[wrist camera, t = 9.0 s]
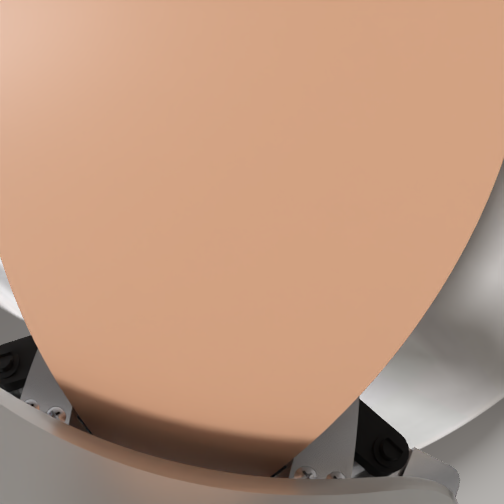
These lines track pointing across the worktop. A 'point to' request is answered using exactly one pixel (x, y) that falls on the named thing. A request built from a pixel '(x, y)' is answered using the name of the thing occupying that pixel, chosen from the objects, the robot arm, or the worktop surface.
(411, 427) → the worktop surface
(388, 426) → the robot arm
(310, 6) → the orange rectangular block
